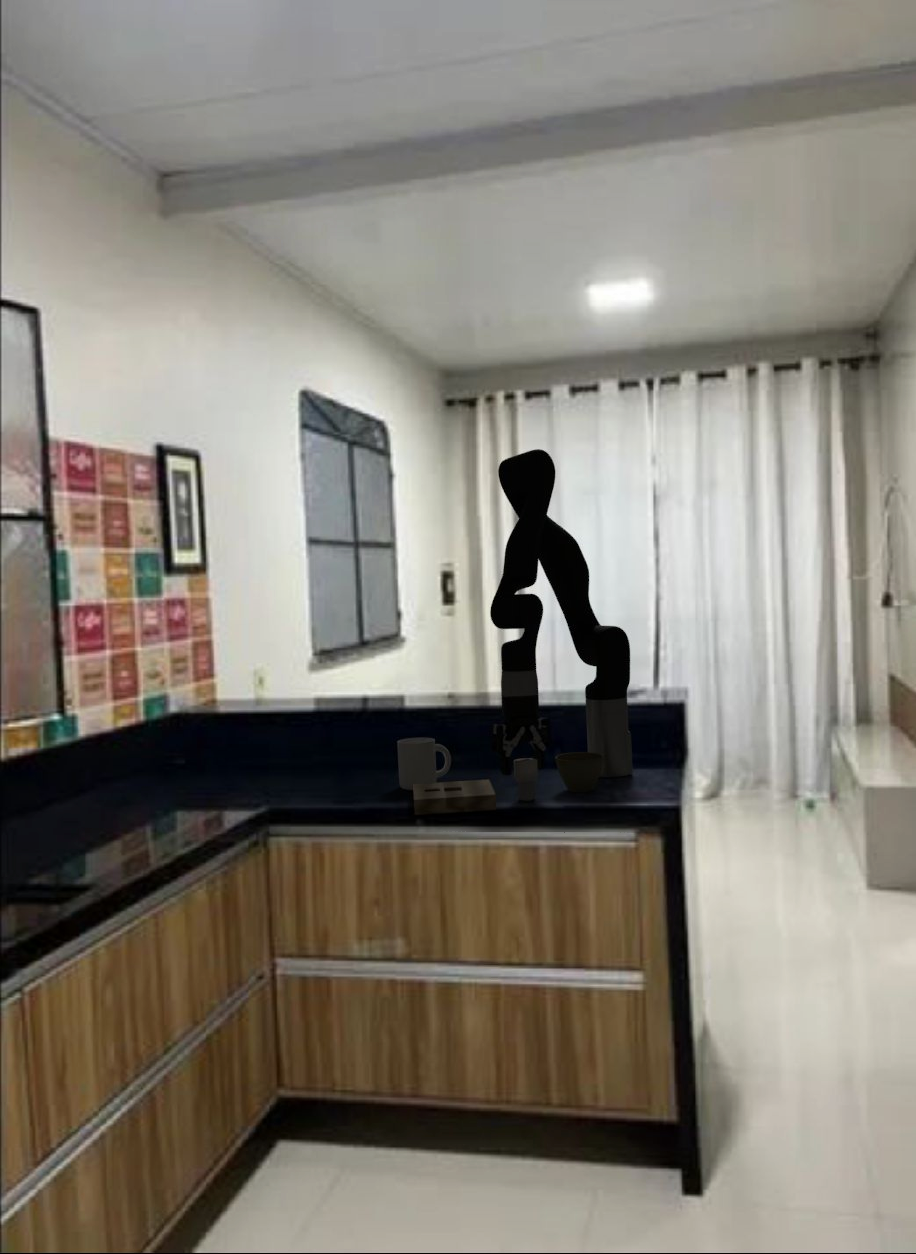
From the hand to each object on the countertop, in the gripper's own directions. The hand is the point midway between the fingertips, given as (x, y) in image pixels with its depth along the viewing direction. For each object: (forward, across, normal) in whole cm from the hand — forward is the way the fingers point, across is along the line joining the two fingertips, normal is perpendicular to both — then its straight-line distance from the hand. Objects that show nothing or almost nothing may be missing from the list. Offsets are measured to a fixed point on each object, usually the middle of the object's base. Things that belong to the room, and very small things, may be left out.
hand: (522, 772), depth 223 cm
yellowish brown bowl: (+6, -14, +2) cm, 15 cm away
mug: (+6, +4, -28) cm, 29 cm away
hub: (+6, +12, -8) cm, 15 cm away
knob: (+6, 0, 0) cm, 6 cm away
